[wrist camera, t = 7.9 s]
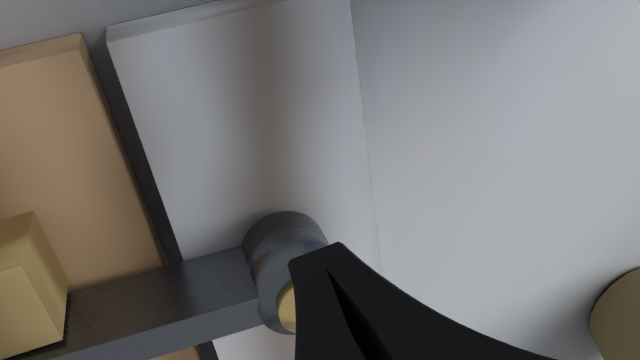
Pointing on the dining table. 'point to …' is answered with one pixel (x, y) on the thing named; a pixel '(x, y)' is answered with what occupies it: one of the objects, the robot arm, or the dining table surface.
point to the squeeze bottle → (618, 319)
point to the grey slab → (177, 154)
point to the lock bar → (189, 298)
